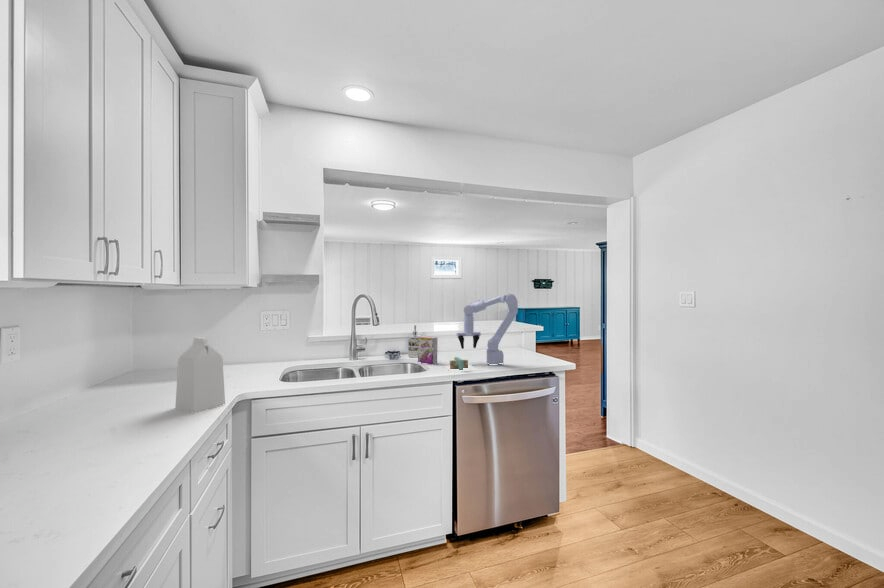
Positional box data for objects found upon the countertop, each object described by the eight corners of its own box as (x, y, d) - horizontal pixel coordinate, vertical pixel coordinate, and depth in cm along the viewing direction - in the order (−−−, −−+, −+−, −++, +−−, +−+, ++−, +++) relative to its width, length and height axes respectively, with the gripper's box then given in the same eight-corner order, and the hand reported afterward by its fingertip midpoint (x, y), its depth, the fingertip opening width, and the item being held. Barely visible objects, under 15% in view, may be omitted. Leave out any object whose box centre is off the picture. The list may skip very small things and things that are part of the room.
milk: (175, 408, 140) (174, 338, 140) (206, 400, 150) (206, 335, 150) (193, 413, 134) (193, 341, 134) (225, 404, 145) (225, 337, 144)
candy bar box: (417, 363, 225) (417, 336, 224) (422, 362, 229) (422, 335, 229) (433, 366, 219) (433, 338, 218) (437, 364, 223) (437, 337, 223)
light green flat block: (457, 367, 211) (457, 356, 211) (463, 371, 202) (463, 360, 202) (454, 367, 211) (454, 357, 211) (460, 371, 201) (460, 360, 201)
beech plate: (466, 368, 208) (466, 359, 208) (467, 369, 207) (467, 360, 207) (449, 369, 206) (449, 360, 205) (450, 370, 204) (450, 361, 204)
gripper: (459, 326, 216) (459, 349, 217) (482, 325, 221) (482, 348, 221) (455, 325, 223) (455, 347, 223) (478, 324, 227) (477, 346, 228)
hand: (468, 348), depth 223 cm, fingers open, 7 cm apart
